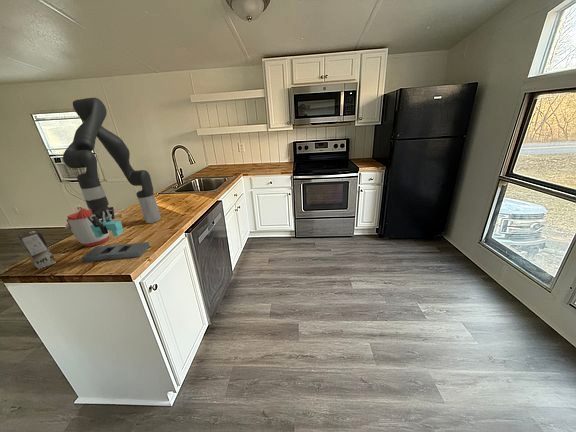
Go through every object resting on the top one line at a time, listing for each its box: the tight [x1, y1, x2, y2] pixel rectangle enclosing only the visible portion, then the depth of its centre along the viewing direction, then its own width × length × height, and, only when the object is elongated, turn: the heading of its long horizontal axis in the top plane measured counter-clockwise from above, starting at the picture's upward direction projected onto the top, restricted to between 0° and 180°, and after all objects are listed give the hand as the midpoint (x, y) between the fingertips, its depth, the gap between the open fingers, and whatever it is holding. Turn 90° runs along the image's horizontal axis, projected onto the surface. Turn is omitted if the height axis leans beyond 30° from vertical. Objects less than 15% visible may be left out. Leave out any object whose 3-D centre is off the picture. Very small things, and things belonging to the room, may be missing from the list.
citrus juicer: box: [64, 207, 110, 248], centre depth 124 cm, size 16×17×20 cm
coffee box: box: [16, 229, 57, 270], centre depth 106 cm, size 9×6×16 cm
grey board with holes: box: [80, 241, 151, 263], centre depth 113 cm, size 10×26×2 cm, turn 94°
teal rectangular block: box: [90, 220, 124, 238], centre depth 108 cm, size 4×11×6 cm, turn 94°
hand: (108, 231), depth 109 cm, fingers closed on teal rectangular block, 4 cm apart
